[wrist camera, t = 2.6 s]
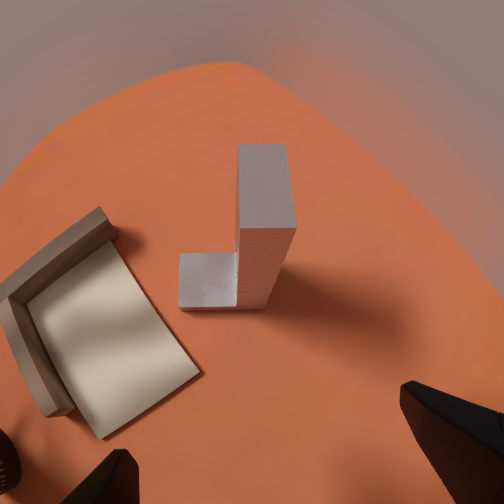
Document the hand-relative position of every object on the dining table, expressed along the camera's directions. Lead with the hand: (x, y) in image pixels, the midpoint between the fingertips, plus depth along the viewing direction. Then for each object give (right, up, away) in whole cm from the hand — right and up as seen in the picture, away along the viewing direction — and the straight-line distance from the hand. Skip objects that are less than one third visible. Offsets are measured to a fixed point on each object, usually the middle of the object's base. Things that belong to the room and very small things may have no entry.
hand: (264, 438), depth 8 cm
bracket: (-3, +3, +15) cm, 15 cm away
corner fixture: (-12, -1, +13) cm, 18 cm away
